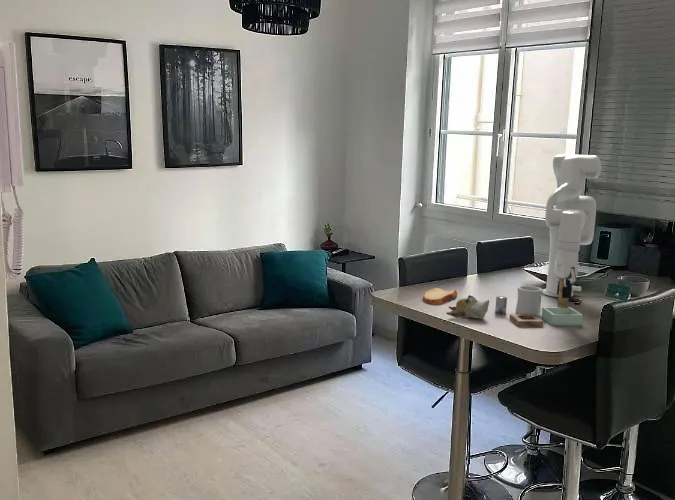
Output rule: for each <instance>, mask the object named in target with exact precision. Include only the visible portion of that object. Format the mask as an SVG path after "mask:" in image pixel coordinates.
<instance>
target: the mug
mask: <svg viewBox="0 0 675 500" xmlns="http://www.w3.org/2000/svg"><path fill="white" fill-rule="evenodd" d="M542 290H543V288H541V287H538V286H532V285H520V286H517V302H516V305H515V314H534V315H535V316H537V317H538V316H540V315H542V306H541V305H542V304H541V303H542V301H541V300H542V295H543V293H542Z"/></svg>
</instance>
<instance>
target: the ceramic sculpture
mask: <svg viewBox="0 0 675 500" xmlns="http://www.w3.org/2000/svg"><path fill="white" fill-rule="evenodd" d="M489 305H490V300H489V299H488V300H482V301H479V300H477V298H476V297H475V296H473V295H470V294H469V295H468V296H467V297H462V298H460V299H458V300H457V302H456V304H455V306H448V309H450V310H451V311H449V312H446V314H447V315H449V316H451V317H452V318H453V317H454V318H463V319H470V318H478V319H479V320H483V319H484V318H485V316H486V314H487V312H488V309H489Z"/></svg>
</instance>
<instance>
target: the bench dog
mask: <svg viewBox="0 0 675 500" xmlns="http://www.w3.org/2000/svg"><path fill="white" fill-rule="evenodd" d="M507 302H508V297H506V296H502V295H497V296H496V297H495V308H494V313H495V314H497V315H506V314H507V304H508V303H507Z"/></svg>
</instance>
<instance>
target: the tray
mask: <svg viewBox="0 0 675 500" xmlns="http://www.w3.org/2000/svg"><path fill="white" fill-rule="evenodd" d="M540 315H541V316H540V317H541V318H540V319H541V320H543V321H545V322H546V323H548V324H549V325H550V326H552V327H556V326H558V327H559V326H561V327H565V326H566V327H582V326H583V322H584V321H583V319H584V315H583V314H582V313H581V312H579V311H577V310H576V309H574V308H572V307H568V308H566V309H564V308H559V307H557V306H555V307H550V306H548V307H547V306H541V314H540Z"/></svg>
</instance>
